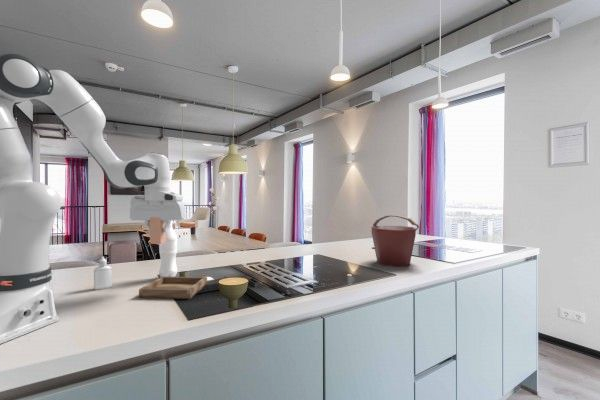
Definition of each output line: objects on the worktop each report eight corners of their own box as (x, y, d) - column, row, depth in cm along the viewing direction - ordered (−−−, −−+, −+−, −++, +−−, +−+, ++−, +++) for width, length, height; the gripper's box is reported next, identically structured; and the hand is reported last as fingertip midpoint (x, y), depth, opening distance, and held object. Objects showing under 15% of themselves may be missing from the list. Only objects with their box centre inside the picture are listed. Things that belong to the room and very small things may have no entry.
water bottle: (180, 275, 131) (180, 218, 131) (172, 280, 124) (171, 220, 124) (165, 275, 132) (164, 218, 131) (155, 279, 125) (155, 220, 124)
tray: (190, 298, 102) (190, 290, 102) (138, 297, 103) (138, 289, 103) (206, 284, 118) (206, 277, 118) (162, 284, 119) (162, 276, 119)
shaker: (160, 243, 113) (160, 213, 112) (150, 243, 113) (149, 213, 113) (165, 242, 117) (165, 212, 116) (155, 242, 117) (155, 212, 117)
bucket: (427, 265, 151) (428, 216, 151) (397, 270, 140) (397, 217, 140) (390, 256, 172) (390, 213, 172) (361, 260, 161) (361, 214, 161)
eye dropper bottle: (108, 289, 112) (108, 257, 112) (91, 290, 111) (91, 258, 111) (113, 286, 116) (113, 255, 116) (97, 286, 115) (97, 255, 115)
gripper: (125, 196, 111) (126, 233, 112) (179, 196, 111) (180, 233, 111) (135, 196, 118) (136, 231, 118) (186, 196, 117) (187, 231, 117)
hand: (157, 232), depth 115 cm, fingers closed on shaker, 4 cm apart
